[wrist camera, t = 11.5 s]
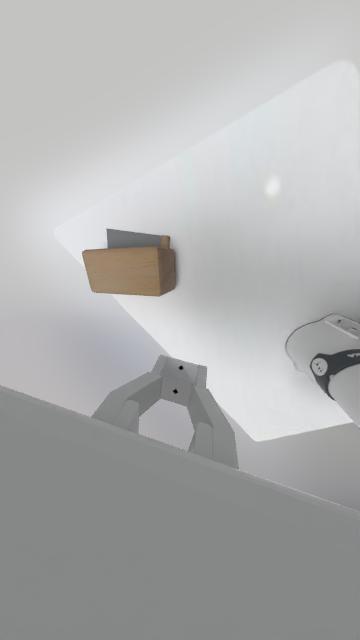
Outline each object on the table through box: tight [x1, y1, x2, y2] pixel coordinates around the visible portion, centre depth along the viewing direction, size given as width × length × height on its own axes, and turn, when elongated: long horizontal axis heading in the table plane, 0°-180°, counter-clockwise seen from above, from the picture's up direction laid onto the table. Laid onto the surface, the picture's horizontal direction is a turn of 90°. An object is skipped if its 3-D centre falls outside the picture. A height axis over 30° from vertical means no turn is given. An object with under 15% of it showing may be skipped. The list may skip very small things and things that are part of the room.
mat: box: [107, 229, 170, 249], centre depth 39 cm, size 18×13×2 cm
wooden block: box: [82, 246, 175, 296], centre depth 35 cm, size 10×10×20 cm
